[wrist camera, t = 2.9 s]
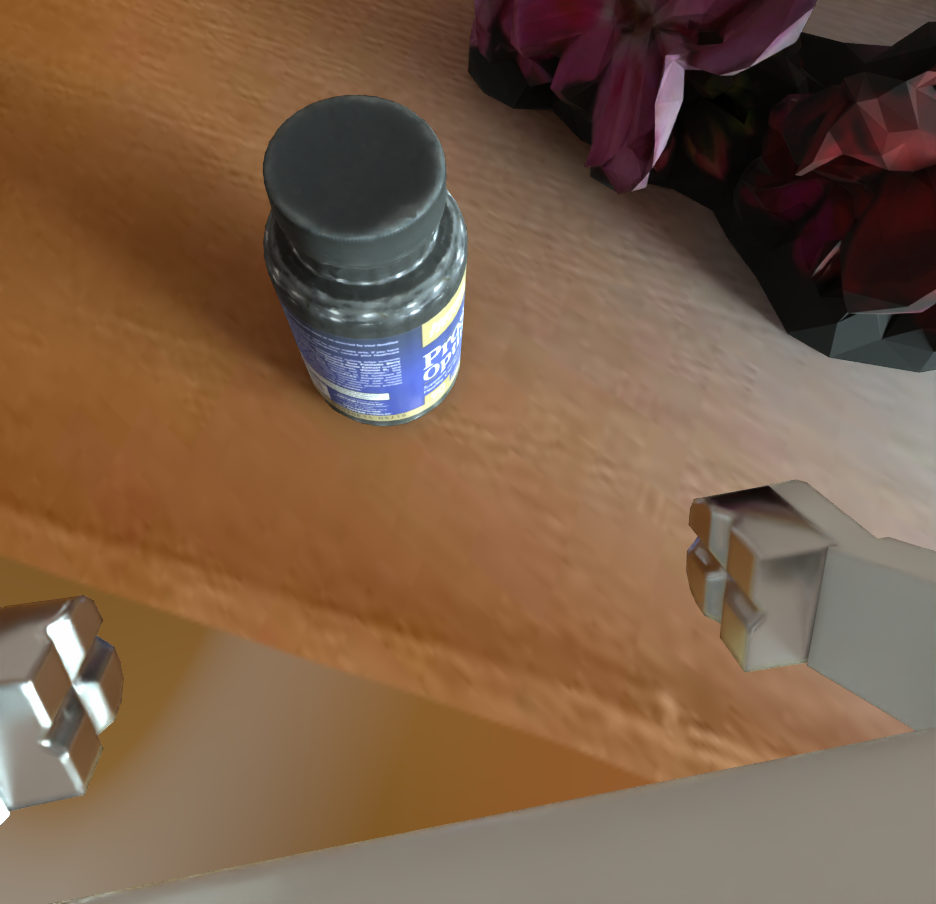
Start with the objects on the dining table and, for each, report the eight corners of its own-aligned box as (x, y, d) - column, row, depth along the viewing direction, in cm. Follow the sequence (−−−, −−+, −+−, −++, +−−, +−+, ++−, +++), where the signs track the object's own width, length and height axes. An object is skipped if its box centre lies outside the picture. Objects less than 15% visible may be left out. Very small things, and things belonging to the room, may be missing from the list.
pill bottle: (455, 435, 27) (467, 276, 16) (299, 425, 27) (211, 258, 16) (463, 299, 29) (479, 80, 18) (319, 289, 29) (252, 62, 18)
